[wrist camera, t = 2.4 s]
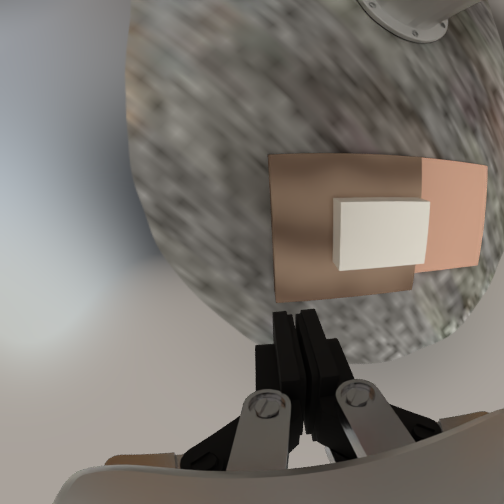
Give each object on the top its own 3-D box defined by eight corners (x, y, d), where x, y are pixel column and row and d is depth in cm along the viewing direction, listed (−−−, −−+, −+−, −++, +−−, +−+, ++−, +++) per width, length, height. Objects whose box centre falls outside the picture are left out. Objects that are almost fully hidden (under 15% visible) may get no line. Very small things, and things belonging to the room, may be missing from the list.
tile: (333, 197, 25) (340, 202, 22) (417, 197, 24) (430, 201, 22) (332, 261, 26) (339, 271, 24) (412, 255, 26) (424, 263, 24)
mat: (413, 156, 25) (415, 156, 25) (485, 165, 25) (487, 166, 25) (406, 272, 30) (408, 273, 29) (475, 263, 29) (477, 265, 29)
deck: (267, 154, 26) (269, 154, 23) (409, 156, 25) (421, 157, 23) (274, 291, 30) (276, 302, 28) (402, 280, 30) (411, 289, 28)
